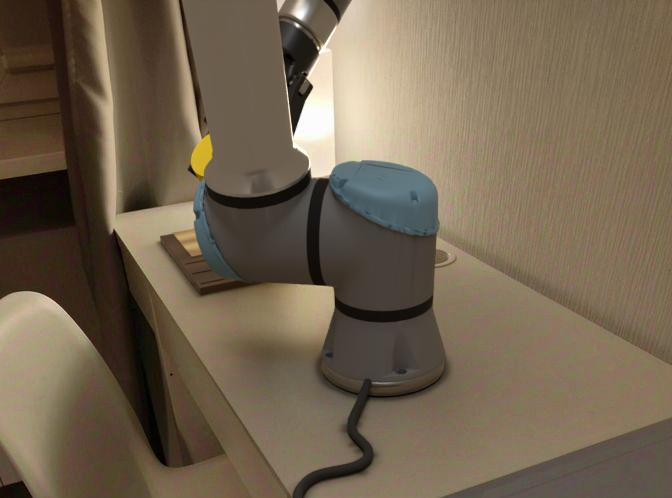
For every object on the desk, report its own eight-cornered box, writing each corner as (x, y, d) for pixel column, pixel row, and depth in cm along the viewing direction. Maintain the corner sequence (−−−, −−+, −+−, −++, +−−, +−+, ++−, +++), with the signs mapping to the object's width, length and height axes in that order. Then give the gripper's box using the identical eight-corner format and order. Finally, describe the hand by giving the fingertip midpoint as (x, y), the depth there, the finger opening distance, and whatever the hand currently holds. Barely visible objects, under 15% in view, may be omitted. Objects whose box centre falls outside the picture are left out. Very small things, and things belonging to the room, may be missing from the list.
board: (303, 273, 115) (303, 265, 114) (200, 295, 110) (199, 286, 110) (250, 225, 134) (249, 218, 134) (160, 242, 130) (159, 234, 129)
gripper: (369, 65, 94) (282, 217, 96) (266, 50, 108) (192, 182, 111) (337, 22, 88) (245, 185, 90) (232, 12, 102) (155, 152, 105)
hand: (216, 183), depth 100 cm, fingers closed on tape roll, 10 cm apart
